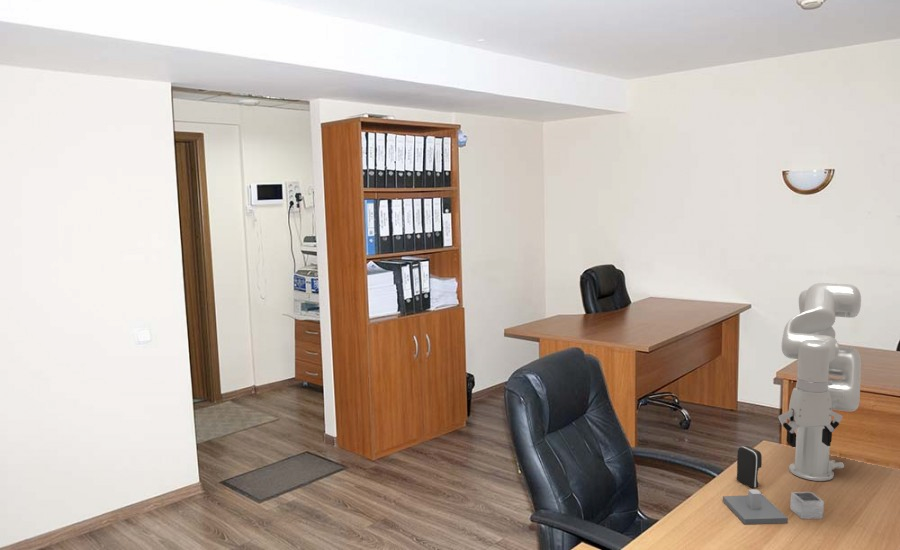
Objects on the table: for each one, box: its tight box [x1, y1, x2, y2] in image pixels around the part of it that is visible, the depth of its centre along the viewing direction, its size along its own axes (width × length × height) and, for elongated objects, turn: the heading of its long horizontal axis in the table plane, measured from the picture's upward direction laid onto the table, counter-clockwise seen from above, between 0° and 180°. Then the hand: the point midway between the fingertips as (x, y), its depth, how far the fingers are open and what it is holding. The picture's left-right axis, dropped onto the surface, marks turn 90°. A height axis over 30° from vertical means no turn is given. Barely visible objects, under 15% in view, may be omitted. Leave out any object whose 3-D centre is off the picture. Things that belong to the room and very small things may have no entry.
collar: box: [789, 491, 825, 520], centre depth 193 cm, size 6×6×5 cm
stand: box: [722, 489, 789, 525], centre depth 194 cm, size 12×14×6 cm
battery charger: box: [736, 445, 763, 488], centre depth 212 cm, size 7×4×11 cm, turn 23°
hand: (808, 444), depth 190 cm, fingers open, 9 cm apart
